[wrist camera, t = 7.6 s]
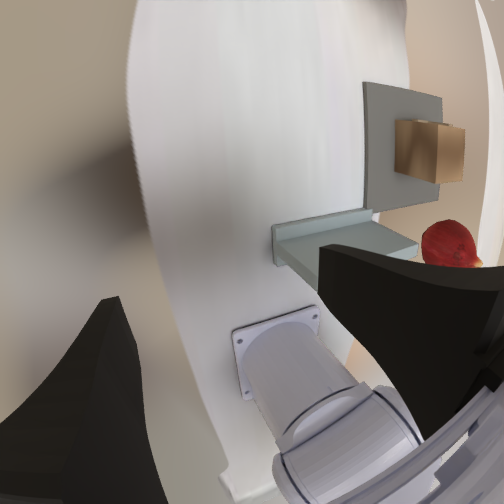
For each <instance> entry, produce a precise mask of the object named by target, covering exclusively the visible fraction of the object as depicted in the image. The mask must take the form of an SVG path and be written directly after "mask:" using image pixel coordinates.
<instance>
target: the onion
mask: <svg viewBox="0 0 504 504" xmlns="http://www.w3.org/2000/svg"><path fill="white" fill-rule="evenodd" d="M421 248H422V256H423V260H424V261H425V263H426V264H431V265H438V266H448V267H463V268H480V267H481V266H482V265H483V263H482V261H481V260H480V259H479V258H478V257H477V253H476V246H475V243H474V240H473V237H472V235H471V234H470V232H469V231H468V230H467V228H466V227H464V226H463V225H461V224H460V223H458V222H457V221H455V220H449V219H448V220H445V221H440V222H436V223H435V224H433V225H432V226H430V227H429V228H428V229H427V230H426V231H425V232H424V233H423V235H422V243H421Z"/></svg>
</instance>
